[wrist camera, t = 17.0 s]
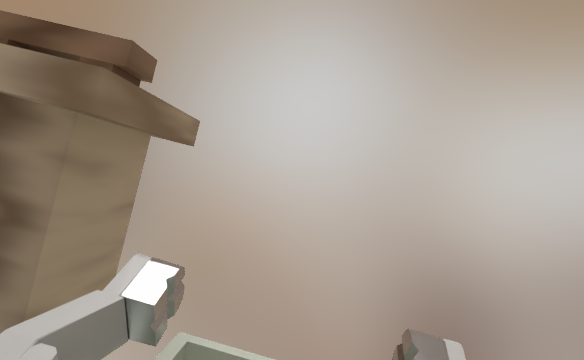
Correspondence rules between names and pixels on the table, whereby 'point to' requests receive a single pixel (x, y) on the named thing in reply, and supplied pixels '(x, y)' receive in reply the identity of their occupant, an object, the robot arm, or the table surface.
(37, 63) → the stand
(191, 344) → the bin
